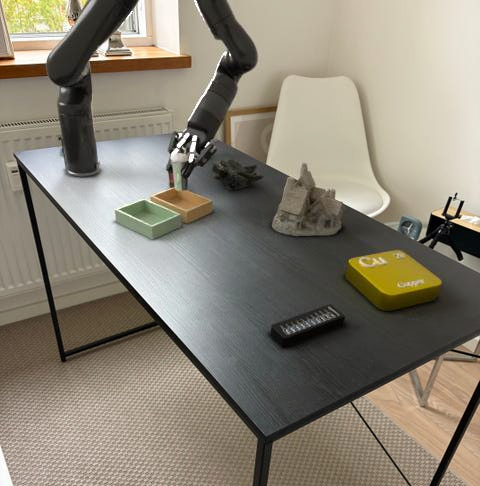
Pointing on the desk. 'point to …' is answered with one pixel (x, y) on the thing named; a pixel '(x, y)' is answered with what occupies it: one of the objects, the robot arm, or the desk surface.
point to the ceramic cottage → (308, 208)
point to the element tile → (392, 280)
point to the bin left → (148, 218)
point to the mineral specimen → (235, 174)
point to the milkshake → (179, 170)
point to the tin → (171, 178)
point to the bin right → (183, 203)
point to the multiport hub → (306, 325)
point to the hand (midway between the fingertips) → (176, 174)
